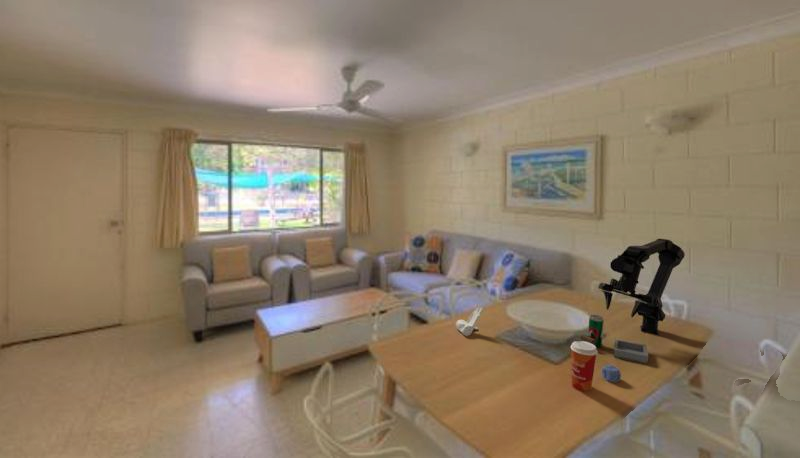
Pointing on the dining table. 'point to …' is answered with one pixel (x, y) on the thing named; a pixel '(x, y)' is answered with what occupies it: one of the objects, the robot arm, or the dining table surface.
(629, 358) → the tray
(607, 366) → the decorative dice
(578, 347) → the paper cup
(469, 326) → the plastic part
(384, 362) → the dining table surface
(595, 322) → the soda can
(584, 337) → the brown rectangular block
